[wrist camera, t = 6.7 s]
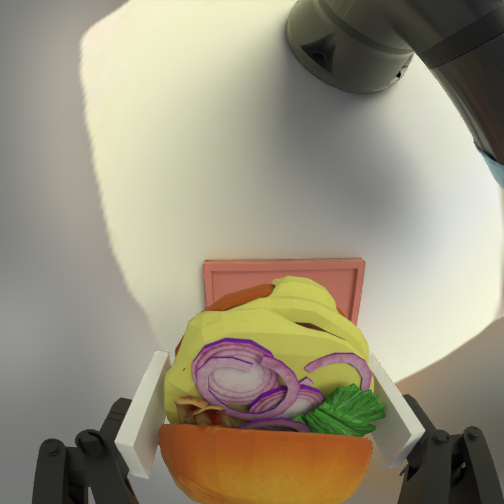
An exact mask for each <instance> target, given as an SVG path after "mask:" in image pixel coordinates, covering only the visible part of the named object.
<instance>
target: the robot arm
mask: <svg viewBox="0 0 504 504" xmlns="http://www.w3.org/2000/svg"><path fill="white" fill-rule="evenodd" d="M286 33H287V39H288V43H289V45H290V48H291V50H292V51H293V53H294V55H295V56H296V58H297V59H298V60H299V62H300V63H301V64H302V65H303V66H304V67H305V68H306V69H307V70H308V71H309V72H311V73H312V74H313V75H314V76H316V77H317V78H319V79H320V80H322V81H324V82H325V83H327V84H329V85H331V86H334V87H336V88H339V89H341V90H345V91H348V92H353V93H375V92H379V91H382V90H384V89H386V88H388V87H390V86H391V85H393V84H395V83H396V82H397V81H399V80H400V79H401V78H402V76H403V75H404V74H405V72H406V70H407V68H408V66H409V64H410V62H411V60H412V58H413V56H414V53H416V54H417V55H418V56H419V58H420V59H421V60H422V61H423V62H424V64H425V65H426V66H427V68H428V69H429V70H430V72H431V73H432V74H433V75H434V77H435V78H436V79H437V81H438V82H439V83H440V85H441V86H442V87H443V89H444V90H445V92H446V93H447V95H448V96H449V98H450V99H451V101H452V102H453V104H454V105H455V107H456V109H457V110H458V112H459V113H460V115H461V117H462V118H463V120H464V122H465V124H466V125H467V127H468V129H469V131H470V133H471V134H472V136H473V139H474V144H475V146H476V148H477V150H478V151H479V153H480V154H482V156H483V157H484V159H485V161H486V163H487V165H488V167H489V169H490V171H491V173H492V175H493V177H494V179H495V180H496V182H497V183H498V184H499V185H500V186H501V187H502V188H503V189H504V0H298V1H297V2H296V3H295V5H294V6H293V8H292V9H291V12H290V14H289V18H288V22H287V28H286ZM368 365H369V366H370V369H371V372H372V375H373V378H374V391H373V394H375V395H379V402H381V403H384V404H385V409H384V415H385V417H384V418H381V419H378V420H375V421H372V422H369V424H372V425H375V426H376V430H375V431H373V432H371V434H372V436H373V438H374V440H375V442H376V444H377V446H378V448H379V451H380V453H381V455H382V457H383V459H384V461H385V464H386V466H387V468H388V469H390V468H393V467H396V466H399V465H401V464H402V463H403V462H404V460H405V459H407V460H408V462H409V463H408V464H407V465H406V467H405V468H404V469H403V470H402V472H401V473H400V476H402V474H403V473H404V472H405V474H404V479H403V483H402V488H401V492H400V496H399V500H398V503H397V504H504V499H503V495H502V491H501V487H500V483H499V479H498V476H497V472H496V469H495V466H494V463H493V460H492V457H491V454H490V451H489V449H488V446H487V443H486V440H485V438H484V435H483V433H482V431H481V430H480V429H479V428H477V427H474V426H470V427H467V428H466V429H465V430H464V431H463V433H462V434H458V435H449V434H448V433H447V432H446V431H443V430H437V429H436V428H435V427H434V425H433V424H432V422H431V421H430V420H429V418H428V417H427V416H426V414H425V413H424V412H423V410H422V408H421V407H420V406H419V404H418V403H417V401H416V400H415V399H414V398H413V397H411V396H410V395H409V394H406V395H401V393H400V392H399V390H398V389H397V387H396V386H395V384H394V383H393V382H392V380H391V379H390V377H389V376H388V374H387V373H386V372H385V370H384V369H383V367H382V366H381V364H380V363H379V362H378V360H377V359H376V357H375V356H374V355H373V353H369V364H368ZM170 368H171V364H170V356H169V352H162V351H155V353H154V355H153V357H152V360H151V362H150V364H149V366H148V368H147V370H146V372H145V374H144V376H143V379H142V381H141V383H140V385H139V387H138V389H137V392H136V394H135V396H134V398H133V400H130V399H125V398H120V399H118V400H117V401H116V402H115V403H114V404H113V405H112V407H111V410H110V413H109V414H108V415H107V419H105V421H104V423H103V425H102V427H101V429H100V431H96V430H93V429H87V430H84V431H81V432H80V433H79V434H78V435H77V436H76V438H75V444H76V446H77V447H65V445H64V444H63V443H62V442H61V441H60V440H57V439H48V440H45V441H44V442H43V443H42V444H41V447H40V450H39V455H38V460H37V466H36V473H35V479H34V487H33V497H32V504H88V487H91V490H92V493H93V496H94V500H95V503H96V504H139V502H138V500H137V498H136V496H135V494H134V491H133V489H132V487H131V484H130V482H129V479H128V478H127V474H128V472H129V470H130V472H131V474H132V475H134V476H138V477H143V478H147V479H149V475H150V472H151V468H152V464H153V460H154V457H155V453H156V449H157V446H158V442H159V437H158V433H159V430H160V428H161V427H162V426H163V424H164V421H165V418H166V412H165V409H164V406H163V396H164V379H165V374H166V373H167V372H168V370H169V369H170ZM463 463H465V466H464V464H463Z"/></svg>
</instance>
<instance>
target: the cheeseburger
mask: <svg viewBox="0 0 504 504" xmlns="http://www.w3.org/2000/svg"><path fill="white" fill-rule="evenodd" d="M271 282H272V283H273V284H274V285H272V284H261V285H258V286H254V287H251V288H247V289H243V290H240V291H236V292H233V293H229V294H226V295H224V296H223V297H222V298H220V299H219V300H217V301H216V302H214V303H213V304H212V305H210V306H209V307H207V308H206V309H204V310H203V311H202V312H200V313H198V314H197V315H196V316H195V317H194V318H192V319H191V320H190V321H189V323H188V326H187V329H186V332H185V334H184V336H183V337H182V339H181V341H180V343H179V344H178V346H177V348H176V349H175V356H176V358H175V360H174V363H173V365H172V367H171V368H170V369H169V370H168V372H167V373H166V374H165V379H164V396H163V406H164V409H165V412H166V415H167V419H168V421H169V422H170V424H164V425H163V426H162V427H161V428H160V430H159V433H158V437H159V442H158V444H159V445H160V448H161V455H162V457H163V460H164V462H165V464H166V466H167V468H168V470H169V472H170V474H171V476H172V478H173V479H174V481H175V483H176V485H177V487H178V488H179V489H180V490H181V491H183V492H184V493H185V494H186V495H187V496H188V497H189V498H190V499H192V500H193V501H195V502H198V503H202V504H341V503H343V502H344V501H345V500H346V499H348V498H349V497H351V496H352V495H353V494H354V492H355V491H356V489H357V488H358V486H359V484H360V483H361V481H362V479H363V478H364V476H365V474H366V472H367V470H368V468H369V464H370V459H371V455H372V450H373V446H372V442H371V441H370V440H369V439H368V438H363V437H362V436H364V435H365V434H368V433H370V432H373V431H375V430H376V426H375V425H372V424H369V422H372V421H375V420H378V419H381V418H384V417H385V415H384V409H385V404H384V403H381V402H379V395H375V394H373V391H374V378H373V375H372V372H371V369H370V366H369V365H368V364H369V347H368V343H367V341H366V340H365V338H364V336H363V334H362V333H361V331H360V330H359V329H358V328H357V327H356V326H355V325H354V324H353V323H352V322H351V321H349V320H348V319H347V318H346V317H345V315H344V314H343V312H342V311H341V310H340V309H339V308H338V307H336V303H335V300H334V299H333V298H332V296H331V295H330V294H329V292H328V291H327V290H326V288H325V287H323V286H321V285H319V284H318V283H316V282H314V281H312V280H311V279H309V278H302V277H293V276H287V277H284V278H280V279H274V280H273V281H271Z"/></svg>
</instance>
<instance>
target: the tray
mask: <svg viewBox="0 0 504 504" xmlns="http://www.w3.org/2000/svg"><path fill="white" fill-rule="evenodd" d="M203 266H204V281H205V294H206V307H209V306H210V305H212V304H213V303H214V302H216V301H217V300H219V299H220V298H222V297H223V296H224V295H226V294H229V293H233V292H236V291H240V290H243V289H247V288H251V287H254V286H258V285H261V284H272V285H274V284H273V283H272V282H271V281H273V280H274V279H280V278H284V277H287V276H293V277H302V278H309V279H311V280H312V281H314V282H316V283H318V284H319V285H321V286H323V287H325V288H326V290H327V291H328V292H329V294H330V295H331V296H332V298H333V299H334V300H335V303H336V307H338V308H339V309H340V310H341V311H342V312H343V314H344V315H345V317H346V318H347V319H348V320H349V321H351V322H352V323H353V324H354V325H355V326H356V324H357V318H358V312H359V306H360V299H361V292H362V285H363V277H364V268H365V261H364V260H362V259H361V258H332V259H267V260H205V262H204V264H203Z"/></svg>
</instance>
